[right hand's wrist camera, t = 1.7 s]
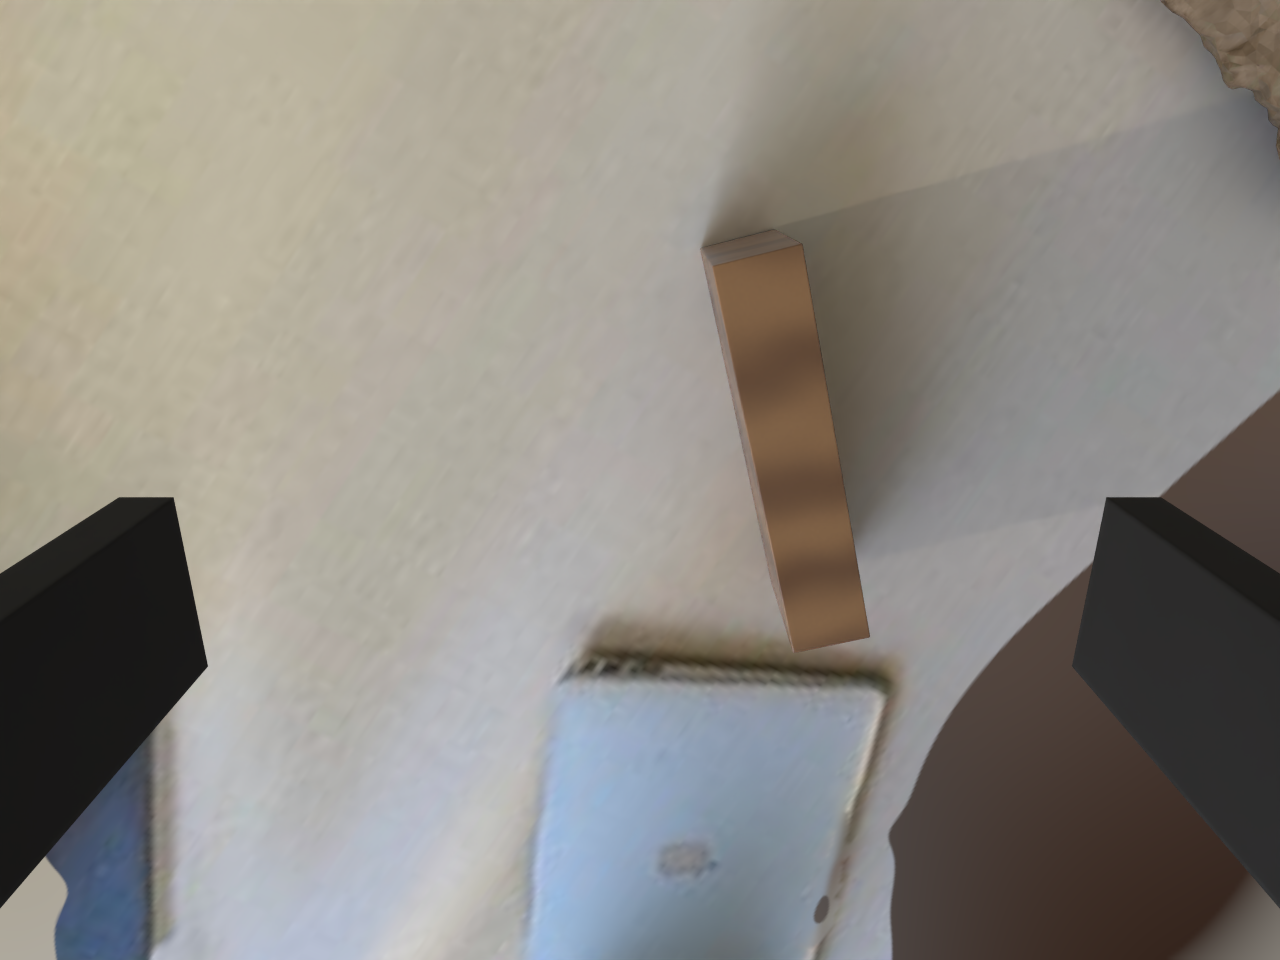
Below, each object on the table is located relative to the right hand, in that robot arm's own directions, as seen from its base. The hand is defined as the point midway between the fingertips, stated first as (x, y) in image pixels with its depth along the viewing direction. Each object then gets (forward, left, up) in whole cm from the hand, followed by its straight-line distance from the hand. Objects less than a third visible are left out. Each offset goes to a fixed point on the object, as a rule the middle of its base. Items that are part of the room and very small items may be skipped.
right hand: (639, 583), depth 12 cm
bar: (+1, +13, -41) cm, 43 cm away
